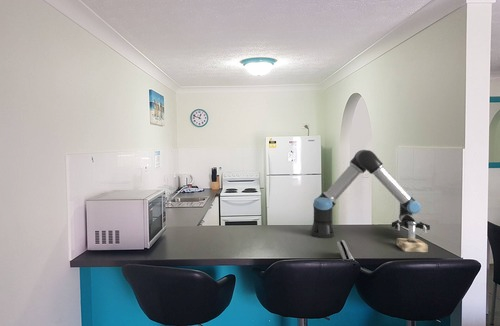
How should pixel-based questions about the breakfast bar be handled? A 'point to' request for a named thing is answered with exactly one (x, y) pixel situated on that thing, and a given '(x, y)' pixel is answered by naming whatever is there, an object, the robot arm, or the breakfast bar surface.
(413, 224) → the pin
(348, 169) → the robot arm
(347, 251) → the hinge
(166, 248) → the breakfast bar surface
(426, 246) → the socket block
